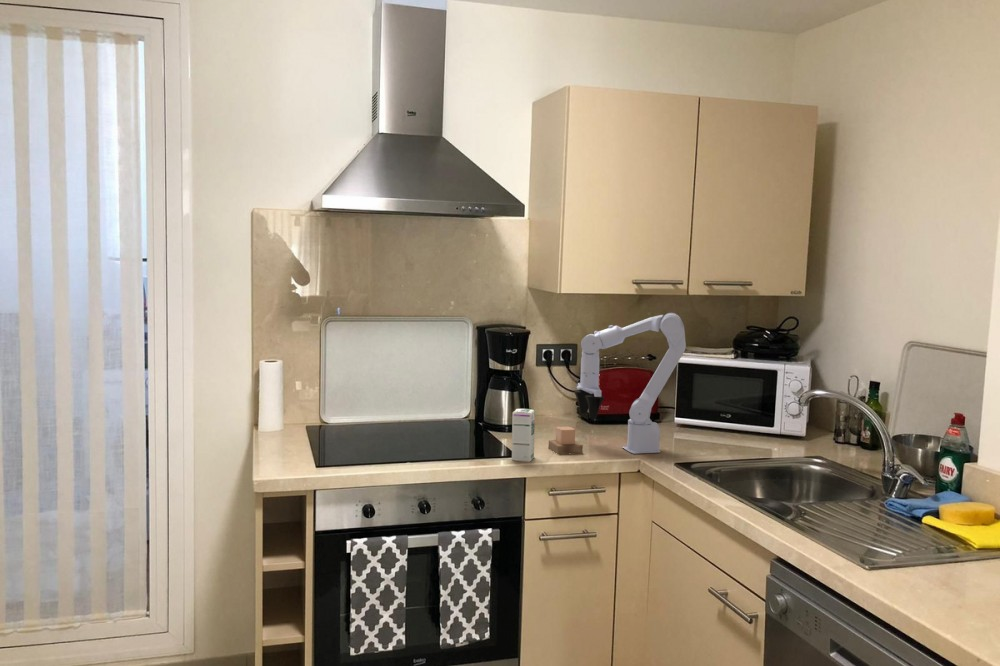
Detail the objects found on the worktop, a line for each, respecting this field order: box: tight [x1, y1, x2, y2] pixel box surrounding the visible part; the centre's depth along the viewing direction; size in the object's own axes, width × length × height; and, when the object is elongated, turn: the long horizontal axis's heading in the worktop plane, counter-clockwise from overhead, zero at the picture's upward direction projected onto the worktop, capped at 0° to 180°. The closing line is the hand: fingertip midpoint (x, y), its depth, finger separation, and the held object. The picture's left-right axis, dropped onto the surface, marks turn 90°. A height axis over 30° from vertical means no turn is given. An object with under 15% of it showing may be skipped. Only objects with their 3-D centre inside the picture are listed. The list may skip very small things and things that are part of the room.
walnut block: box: [548, 439, 584, 455], centre depth 256 cm, size 8×8×3 cm
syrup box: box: [511, 408, 536, 463], centre depth 244 cm, size 6×6×14 cm
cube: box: [555, 426, 576, 445], centre depth 256 cm, size 4×4×4 cm
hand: (588, 415), depth 262 cm, fingers open, 7 cm apart
